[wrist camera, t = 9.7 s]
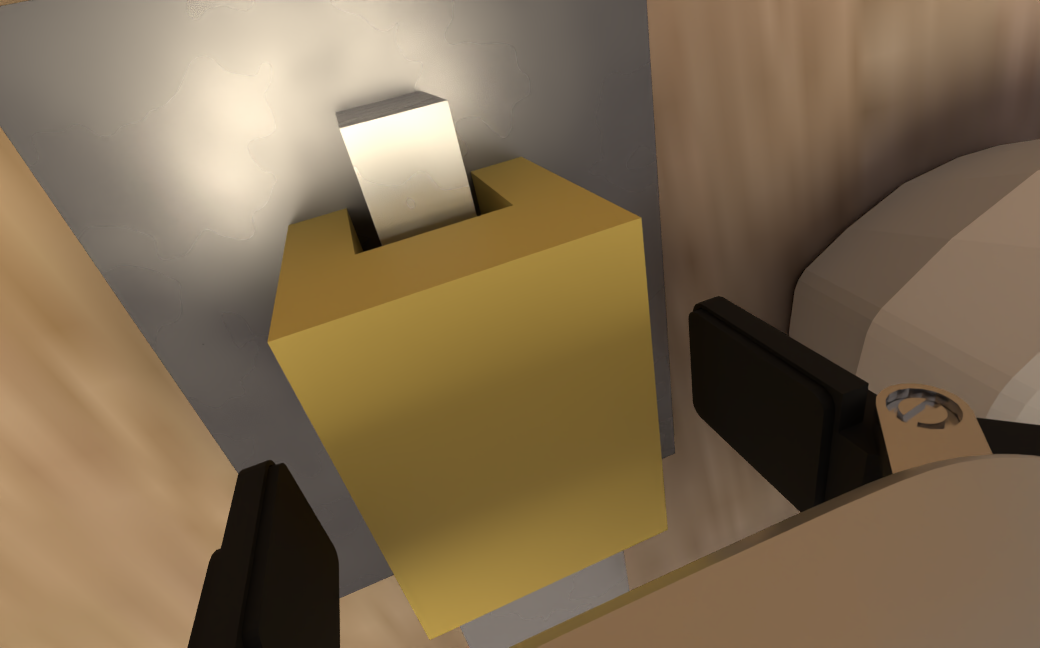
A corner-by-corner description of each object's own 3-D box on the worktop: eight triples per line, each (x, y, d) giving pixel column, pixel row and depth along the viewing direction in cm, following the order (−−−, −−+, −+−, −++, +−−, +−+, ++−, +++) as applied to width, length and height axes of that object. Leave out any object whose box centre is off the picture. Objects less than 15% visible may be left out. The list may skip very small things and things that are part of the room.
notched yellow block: (521, 156, 14) (640, 217, 8) (567, 393, 18) (667, 529, 13) (288, 225, 12) (267, 342, 7) (395, 460, 16) (429, 640, 11)
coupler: (621, -109, 12) (787, -200, 8) (663, 440, 21) (751, 539, 17) (-45, 22, 10) (-343, -3, 5) (326, 584, 19) (329, 743, 15)
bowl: (1038, 340, 28) (1319, 453, 20) (766, 522, 27) (950, 714, 19) (1096, -16, 18) (1679, -68, 11) (679, 246, 18) (974, 404, 10)
